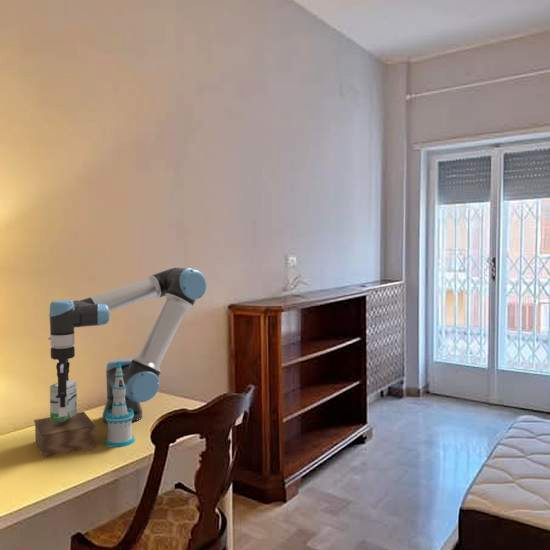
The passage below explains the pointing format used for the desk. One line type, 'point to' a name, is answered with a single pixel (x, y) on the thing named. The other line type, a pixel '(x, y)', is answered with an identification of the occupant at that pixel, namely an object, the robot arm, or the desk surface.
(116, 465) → the desk surface
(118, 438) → the model tower
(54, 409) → the ink box
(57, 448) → the walnut block
